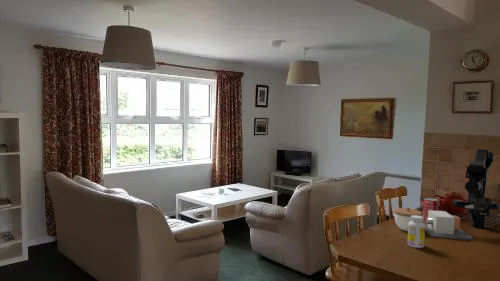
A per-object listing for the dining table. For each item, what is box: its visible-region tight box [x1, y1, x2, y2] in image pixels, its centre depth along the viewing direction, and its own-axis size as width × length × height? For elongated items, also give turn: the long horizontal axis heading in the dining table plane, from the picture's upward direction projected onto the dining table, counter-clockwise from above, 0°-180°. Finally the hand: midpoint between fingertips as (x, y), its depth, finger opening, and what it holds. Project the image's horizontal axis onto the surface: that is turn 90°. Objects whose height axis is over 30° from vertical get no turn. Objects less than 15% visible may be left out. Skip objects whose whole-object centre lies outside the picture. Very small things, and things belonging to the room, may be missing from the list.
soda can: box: [422, 197, 439, 224], centre depth 193 cm, size 7×7×13 cm
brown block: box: [426, 214, 461, 231], centre depth 179 cm, size 5×14×6 cm, turn 81°
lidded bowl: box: [394, 206, 423, 232], centre depth 182 cm, size 13×13×11 cm
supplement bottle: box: [407, 215, 426, 249], centre depth 158 cm, size 7×7×13 cm
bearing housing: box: [424, 210, 474, 241], centre depth 178 cm, size 20×18×9 cm
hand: (473, 222), depth 176 cm, fingers closed
